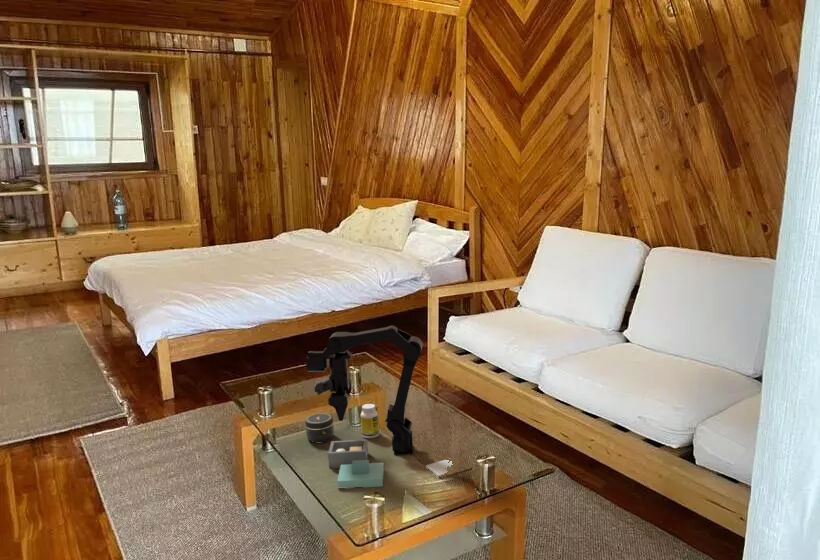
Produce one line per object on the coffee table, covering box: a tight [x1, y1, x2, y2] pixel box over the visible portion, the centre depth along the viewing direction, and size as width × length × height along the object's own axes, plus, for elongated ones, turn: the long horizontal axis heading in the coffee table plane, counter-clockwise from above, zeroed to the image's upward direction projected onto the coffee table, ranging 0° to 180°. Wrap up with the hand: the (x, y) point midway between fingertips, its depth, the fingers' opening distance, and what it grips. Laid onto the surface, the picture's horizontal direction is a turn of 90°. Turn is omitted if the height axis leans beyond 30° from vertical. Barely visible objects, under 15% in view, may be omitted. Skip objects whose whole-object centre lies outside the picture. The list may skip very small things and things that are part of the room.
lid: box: [337, 459, 385, 488], centre depth 188 cm, size 13×10×6 cm
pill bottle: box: [360, 403, 380, 439], centre depth 219 cm, size 6×6×11 cm
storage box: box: [327, 438, 369, 469], centre depth 201 cm, size 12×9×5 cm
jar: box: [304, 412, 335, 443], centre depth 219 cm, size 10×10×8 cm
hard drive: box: [425, 459, 453, 478], centre depth 193 cm, size 2×8×12 cm
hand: (342, 415), depth 206 cm, fingers open, 9 cm apart
